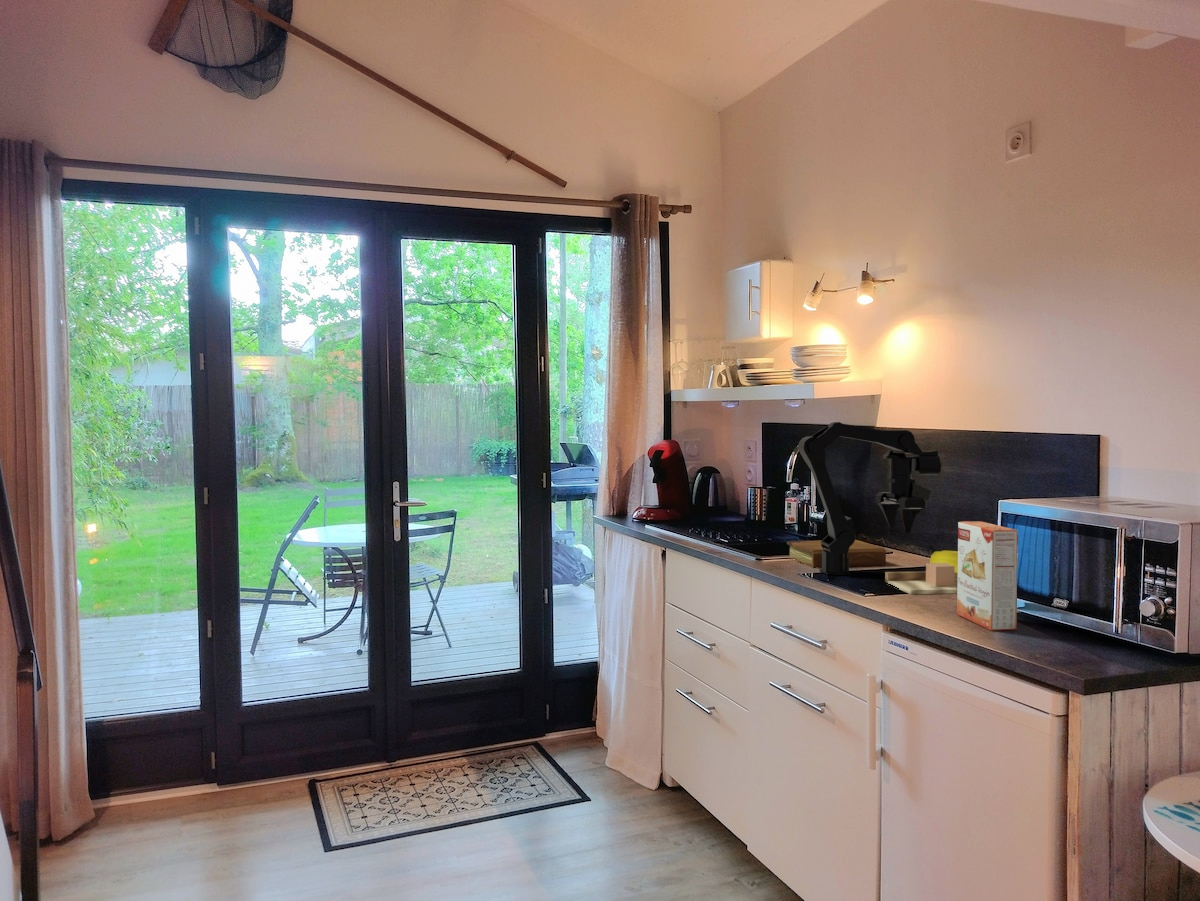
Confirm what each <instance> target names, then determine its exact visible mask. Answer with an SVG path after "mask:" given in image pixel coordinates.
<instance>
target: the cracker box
mask: <svg viewBox="0 0 1200 901" xmlns="http://www.w3.org/2000/svg"><path fill="white" fill-rule="evenodd" d="M957 524H958V525H957V526H958V527H957V551H958V584H957V593H956V594H957V596H956V597H957V599H956V600H957V601H956V603H957V604H956V610H957V611H956V615H957V616H959V617H962V618H964V619H966V620H968V621H970V622H972V623H974V624H976V625H978V626H981V627H982V628H985V629H987V630H989V631H994V632H995V631H998V632H999V631H1016V630H1017V626H1018V625H1017V623H1018V622H1017V620H1018V618H1017V615H1018V614H1017V613H1018V612H1017V611H1018V608H1017V567H1018V554H1019V552H1018V551H1019V530H1018V529H1015V528H1010V527H1006V526H1001V525H997V524H993V523H989V522H985V521H982V520H981V521H980V520H979V521H978V520H977V521H973V520H971V521H970V520H966V521H965V520H964V521H963V520H962V521H958V522H957Z"/></svg>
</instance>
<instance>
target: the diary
mask: <svg viewBox="0 0 1200 901" xmlns="http://www.w3.org/2000/svg"><path fill="white" fill-rule="evenodd" d="M822 540H823V539H822ZM822 540H820V539H819V540H794V541H793V540H792V541H791V540H789V541H787V540H786V545H788V546H789V555H788V556H786V558H787V557H793V558H794V559H795V560H797V561H799V562H801V563H800V564H802V563H803V565H804V564H806V565H805V566H807V565H808V567H809V566H810V568H812V567H813V568H812V569H815V568H816V567H822V550H825V549H823V548H822V546H821V541H822ZM848 557H849V568H850V567H873V566H875V567H880V566H886V565H887V564H886V562H887V561H886V560H887V551H886V548H885V547H882V546H879V545H875V544H871V543H869V542H866V541H862V540H858V539H856V540H855V541H854V543H853V544H852V545H851V546H850V548H849V550H848ZM797 561H796V562H797ZM799 562H798V563H799ZM816 569H817V568H816Z"/></svg>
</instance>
